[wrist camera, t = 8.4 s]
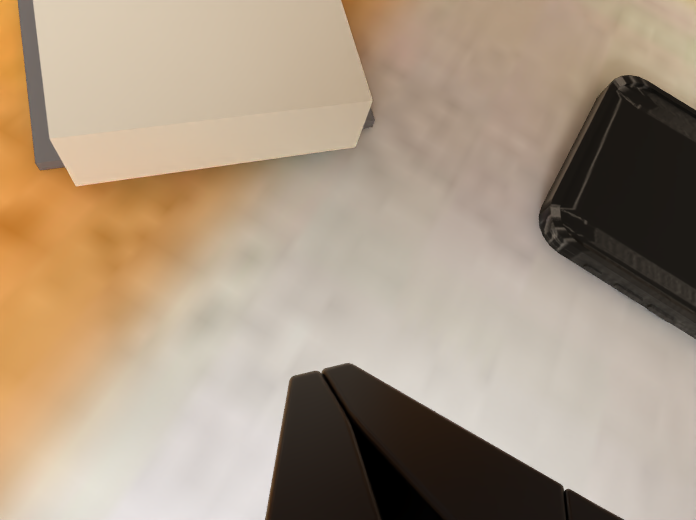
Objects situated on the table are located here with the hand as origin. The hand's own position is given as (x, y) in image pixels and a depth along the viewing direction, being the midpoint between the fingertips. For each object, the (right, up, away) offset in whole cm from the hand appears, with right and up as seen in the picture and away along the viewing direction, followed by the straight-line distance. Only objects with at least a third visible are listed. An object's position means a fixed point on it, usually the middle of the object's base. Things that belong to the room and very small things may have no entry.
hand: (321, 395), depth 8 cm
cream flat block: (-3, +5, +8) cm, 10 cm away
